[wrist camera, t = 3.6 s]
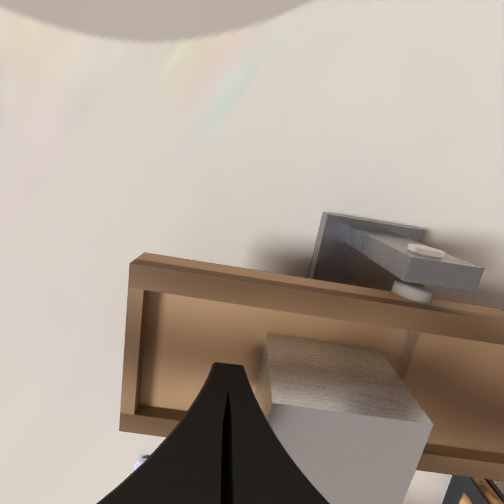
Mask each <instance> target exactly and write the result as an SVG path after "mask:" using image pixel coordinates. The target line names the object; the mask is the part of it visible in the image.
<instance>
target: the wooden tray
mask: <svg viewBox="0 0 504 504" xmlns="http://www.w3.org/2000/svg"><path fill="white" fill-rule="evenodd" d="M433 293H434V292H433V291H432V290H431V289H429V288H428V287H425V286H423V285H420V284H418V283H411V282H404V281H402V280H395V281H394V284H393V287H392V290H391V291H384V290H378V289H372V288H365V287H359V286H353V285H346V284H340V283H334V282H328V281H321V280H315V279H309V278H302V277H296V276H290V275H283V274H277V273H271V272H264V271H258V270H252V269H245V268H239V267H233V266H227V265H220V264H214V263H208V262H201V261H195V260H189V259H182V258H176V257H170V256H163V255H157V254H151V253H143V254H142V255H140V256H139V257H138V258H136V259H135V260H134V261H132V262H131V263H130V267H129V283H128V299H127V315H126V331H125V347H124V363H123V379H122V395H121V411H120V427H119V431H123V432H131V433H139V434H146V435H154V436H161V437H168V435H169V434H170V433H171V432H172V431H173V429H174V428H175V427H176V426H177V424H178V423H179V422H180V420H181V419H182V418H183V416H184V415H185V413H186V412H187V411H188V409H189V408H190V406H191V405H192V403H193V402H194V400H195V399H196V397H197V395H198V394H199V392H200V390H201V388H202V387H203V385H204V383H205V381H206V379H207V377H208V375H209V372H210V370H211V366H212V364H213V363H215V362H220V363H228V364H237V365H243V367H244V368H245V372H246V375H247V378H248V380H249V383H250V386H251V388H252V391H253V393H254V392H255V387H256V382H257V377H258V372H259V367H260V362H261V356H262V351H263V346H264V341H265V336H266V333H272V334H279V335H286V336H293V337H300V338H306V339H313V340H320V341H327V342H334V343H341V344H348V345H355V346H361V347H368V348H375V349H379V350H380V351H381V353H382V354H383V356H384V357H385V358H386V360H387V361H388V362H389V364H390V365H391V367H392V368H393V369H394V371H395V372H396V373H397V375H398V376H399V378H400V379H401V380H402V382H403V383H404V385H405V386H406V387H407V389H408V390H409V391H410V393H411V394H412V396H413V397H414V398H415V400H416V401H417V402H418V404H419V405H420V407H421V408H422V409H423V411H424V412H425V414H426V415H427V416H428V418H429V419H430V420H431V422H432V423H433V427H432V430H431V432H430V435H429V437H428V440H427V442H426V445H425V447H424V450H423V452H422V455H421V458H420V460H419V463H418V465H417V468H416V470H420V471H428V472H436V473H443V474H451V475H459V476H466V477H474V478H481V479H489V480H497V481H504V309H498V308H492V307H485V306H479V305H473V304H466V303H460V302H454V301H447V300H441V299H435V298H432V296H433Z"/></svg>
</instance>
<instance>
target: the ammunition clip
mask: <svg viewBox="0 0 504 504" xmlns="http://www.w3.org/2000/svg"><path fill="white" fill-rule="evenodd" d="M442 504H504V495H503V494H502V493H501V491H500V490H499V489H498V488H497V486H496V485H495V484H494V482H493V481H492V480H489V479H481V478H474V477H466V476H459V475H452V478H451V481H450V484H449V486H448V489H447V492H446V495H445V497H444V500H443V503H442Z"/></svg>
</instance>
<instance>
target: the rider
mask: <svg viewBox="0 0 504 504" xmlns="http://www.w3.org/2000/svg"><path fill="white" fill-rule="evenodd" d="M254 395H255V397H256V399H257V402H258V404H259V406H260V408H261V410H262V412H263V414H264V416H265V417H266V419H267V421H268V423H269V425H270V426H271V428H272V430H273V432H274V433H275V435H276V436H277V438H278V440H279V441H280V443H281V444H282V446H283V447H284V449H285V450H286V451H287V453H288V454H289V456H290V457H291V458H292V460H293V461H294V463H295V464H296V465H297V466H298V468H299V469H300V470H301V471H302V472H303V474H304V475H305V476H306V477H307V479H308V480H309V481H310V482H311V483H312V485H313V486H314V487H315V488H316V489H317V490H318V491H319V492H320V494H321V495H322V496H323V497H324V498H325V499H326V500H327V501H328V502H329V503H330V504H402V503H403V501H404V498H405V496H406V493H407V490H408V488H409V485H410V483H411V480H412V478H413V475H414V473H415V470H416V468H417V465H418V463H419V460H420V458H421V455H422V452H423V450H424V447H425V445H426V442H427V440H428V437H429V435H430V432H431V430H432V427H433V423H432V422H431V420H430V419H429V418H428V416H427V415H426V414H425V412H424V411H423V409H422V408H421V407H420V405H419V404H418V402H417V401H416V400H415V398H414V397H413V396H412V394H411V393H410V391H409V390H408V389H407V387H406V386H405V385H404V383H403V382H402V380H401V379H400V378H399V376H398V375H397V373H396V372H395V371H394V369H393V368H392V367H391V365H390V364H389V362H388V361H387V360H386V358H385V357H384V356H383V354H382V353H381V351H380V350H379V349H375V348H368V347H361V346H355V345H348V344H341V343H334V342H327V341H320V340H313V339H306V338H300V337H293V336H286V335H279V334H272V333H266V336H265V341H264V346H263V351H262V356H261V362H260V367H259V372H258V377H257V382H256V387H255V392H254Z"/></svg>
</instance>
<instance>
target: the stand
mask: <svg viewBox="0 0 504 504" xmlns="http://www.w3.org/2000/svg"><path fill="white" fill-rule="evenodd" d="M423 231H424V230H422V229H419V228H416V227H411V226H405V225H399V224H393V223H387V222H381V221H375V220H369V219H363V218H357V217H351V216H345V215H339V214H333V213H327V212H323V214H322V218H321V223H320V227H319V232H318V236H317V240H316V245H315V249H314V253H313V258H312V262H311V266H310V271H309V275H308V278H309V279H315V280H321V281H328V282H334V283H340V284H346V285H353V286H359V287H365V288H372V289H378V290H384V291H391V290H392V287H393V284H394V281H395V280H402V281H404V282H411V283H418V284H424V285H431V286H438V287H444V288H451V289H458V290H465V291H471V292H475V291H476V288H477V286H478V283H479V281H480V278H481V276H482V273H483V270H484V268H482V267H479V266H477V265H474V264H472V263H469V262H467V261H464V260H462V259H459V258H457V257H454V256H452V255H449V254H446V253H445V252H444V251H441V250H438V249H435V248H432V247H429V246H426V245H424V244H421V243H420V240H421V237H422V234H423Z"/></svg>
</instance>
